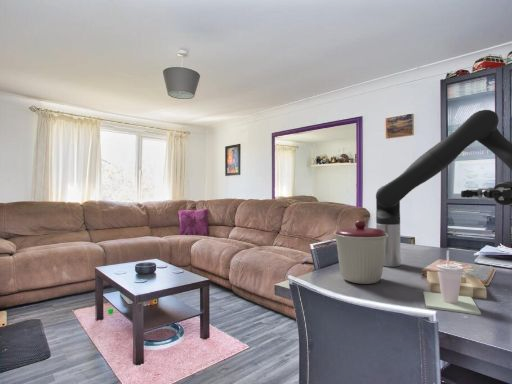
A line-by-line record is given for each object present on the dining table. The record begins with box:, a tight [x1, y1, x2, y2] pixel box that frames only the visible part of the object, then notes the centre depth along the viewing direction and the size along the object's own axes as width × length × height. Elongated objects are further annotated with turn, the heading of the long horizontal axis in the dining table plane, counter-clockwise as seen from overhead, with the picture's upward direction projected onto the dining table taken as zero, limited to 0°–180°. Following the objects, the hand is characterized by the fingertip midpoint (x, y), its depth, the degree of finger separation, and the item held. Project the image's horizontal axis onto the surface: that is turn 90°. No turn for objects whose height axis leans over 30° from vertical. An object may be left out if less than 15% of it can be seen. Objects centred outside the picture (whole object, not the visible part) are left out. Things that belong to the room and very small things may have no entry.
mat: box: [423, 291, 482, 316], centre depth 85 cm, size 12×12×1 cm
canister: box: [333, 219, 388, 285], centre depth 107 cm, size 18×18×21 cm
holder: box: [426, 270, 487, 300], centre depth 97 cm, size 14×14×3 cm
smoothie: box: [436, 250, 464, 303], centre depth 85 cm, size 6×6×14 cm
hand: (474, 194), depth 94 cm, fingers open, 8 cm apart
